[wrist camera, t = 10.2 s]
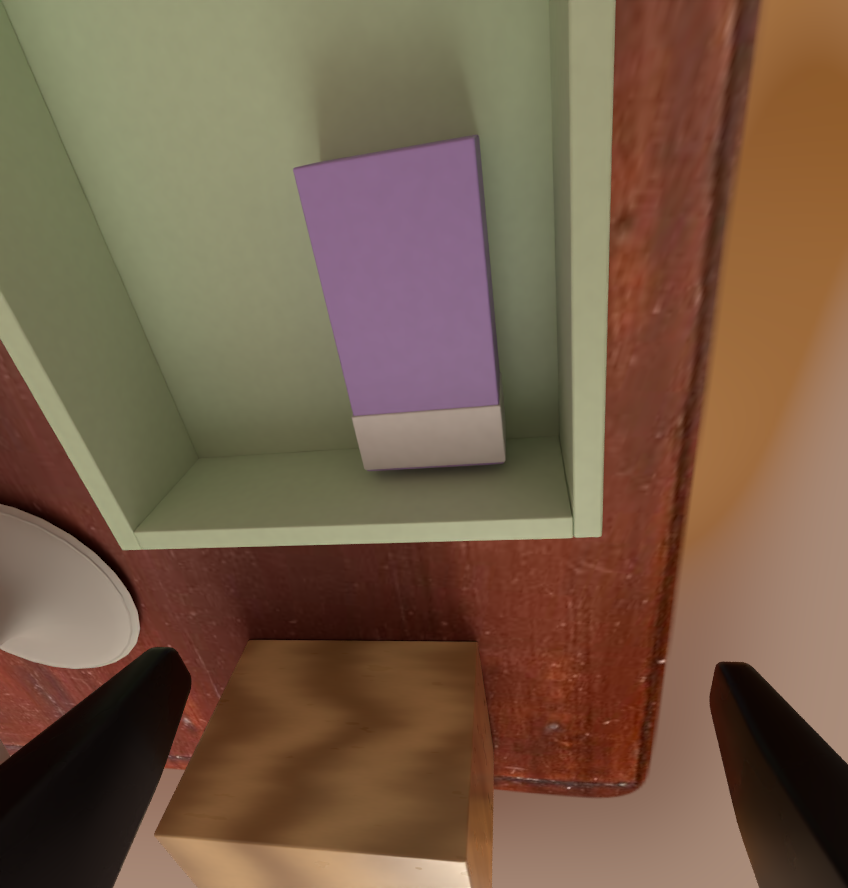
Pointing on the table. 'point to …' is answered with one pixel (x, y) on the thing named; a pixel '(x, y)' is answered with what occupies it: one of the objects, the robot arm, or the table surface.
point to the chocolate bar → (410, 301)
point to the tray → (294, 255)
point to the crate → (341, 771)
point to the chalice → (59, 599)
